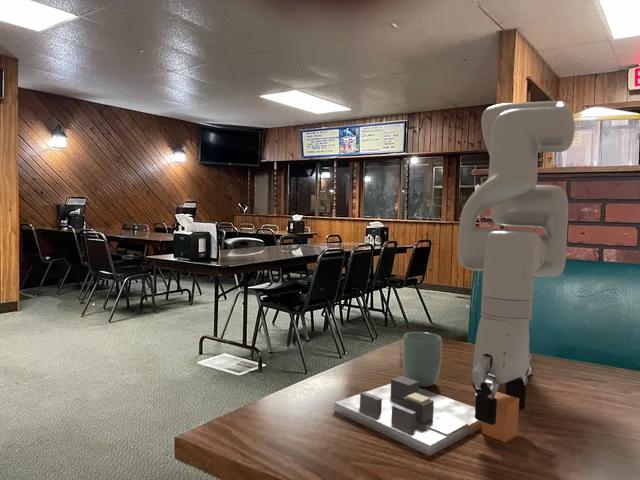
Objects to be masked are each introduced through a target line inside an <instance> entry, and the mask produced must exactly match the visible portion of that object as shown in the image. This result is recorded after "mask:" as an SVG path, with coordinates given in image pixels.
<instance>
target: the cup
mask: <svg viewBox="0 0 640 480" xmlns="http://www.w3.org/2000/svg"><path fill="white" fill-rule="evenodd" d="M442 343H443V341H442V336H440V335H438V334H436V333H432V332H426V331H425V332H424V331H410V332H409V331H408V332H406V333H404V335H403V342H402V367H403V368H402V369H403V375H404V377H406V378H409V379H412V380H415V381H418V382H419V388H421V387H422V388H423V387H424V388H425V387H426V388H427V387H431V386H433V385H434V384H435V383H436V382H437V381H438V379H439V376H440V370H441V363H442V362H441V361H442V346H443V345H442Z"/></svg>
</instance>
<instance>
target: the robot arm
mask: <svg viewBox="0 0 640 480" xmlns="http://www.w3.org/2000/svg"><path fill="white" fill-rule="evenodd" d="M480 120H481V122H480V123H481V124H480V125H481V133H482V137H483V140H484V144H485V146H486V147H485V148H486V150H487V152H488V155H489V166H488V178H487V180H486V181H484V182H483V183H482V184H480V185H479V186H478V187H477V188H476V189H474V191H473V192H472V193H471V195H470V196H469V197H468V199H467V201H466V202H465V203H464V206H463V207H462V210H461V213H460V218H459V227H458V236H457V245H456V248H457V250H456V251H457V252H456V253H457V259H458V262H459V264H460V265H461V266H462V267H463V268H465V269H467V270H471V271H478V272H479V271H480V272H482V285H481V305H480V306H481V307H480V315H481V316H480V317H479V321H478V322H479V323H478V326H477V331H476V338H475V345H474V354H473V360H472V361H473V362H472V371H471V374H470V375H471V379H472V382H473V383H472V387H473V389H474V390H473V391H474V392H473V393H474V395H475V405H474V407H475V418H476V419H477V420H479V421H482V422H485V423H488V424H491V425H494V424H495V423H496V409H497V399H496V398H494V397H495V394H496V392H498V388H499V387H500V385H504V384H505V393H504V394H506V395H509V396H512V397H515V398H519V410H522V411H523V410H525V408H526V397H527V396H526V392H527V386H526V385H527V384H528V376H530V375H531V374H532V367H531V366H530V363H531V362H530V361H531V359H532V358H531V354H530V324H529V323H530V321H532V314H533V313H532V311H533V293H534V277H539V278H541V277H542V278H555V277H559V276H560V275H562V274H563V272H564V269H565V268H566V267H565V266H566V262H567V242H568V241H567V240H568V225H569V223H568V222H569V201H568V196H567V192H566V191H565V189H564V188H562V187H561V186H558V185H554V184H553V185H552V184H537V182H538V162H539V160H538V159H539V153H562V152H566V151H567V150H569V148H571V146H572V144H573V142H574V139H575V138H574V137H575V128H576V127H575V126H576V125H575V118H574V114H573V111H572V109H571V107H570V106H569V105H568V103H567V101H566V102H565V101H563V100H547V101H546V100H545V101H526V102H525V101H522V102H518V101H517V102H508V103H506V102H505V103H498V104H494V105H492V106H488V107H487V108H486V109H484V110H483V112H482V115H481V119H480ZM489 209H490V217H491V220H492V222H493V223H494V224H495V225H498V226H502V227H511V228H513V227H515V228H534V229H535V228H539V229H541V230H543V232H544V234H543V233H537V232H535V231H533V230H527V229H506V228H483V227H481V228H479V227H476V222H477V220H478V219H479V217H480V216H481V215H482V214H483V213H485V212H486V211H487V210H489ZM488 384H491V385H490V387H489V385H488Z"/></svg>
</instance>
